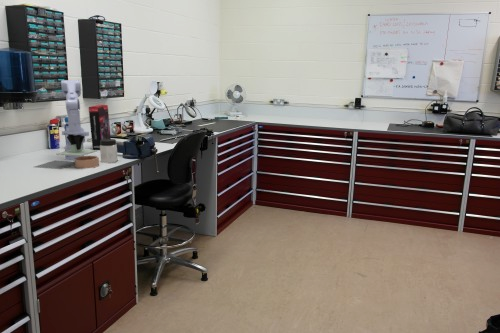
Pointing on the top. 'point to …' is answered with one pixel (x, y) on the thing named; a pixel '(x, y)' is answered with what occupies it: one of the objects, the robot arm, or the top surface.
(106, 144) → the jar
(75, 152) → the green square lid
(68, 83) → the robot arm
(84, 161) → the bowl
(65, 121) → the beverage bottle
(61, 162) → the mat
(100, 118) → the graphics card box
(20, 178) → the top surface
